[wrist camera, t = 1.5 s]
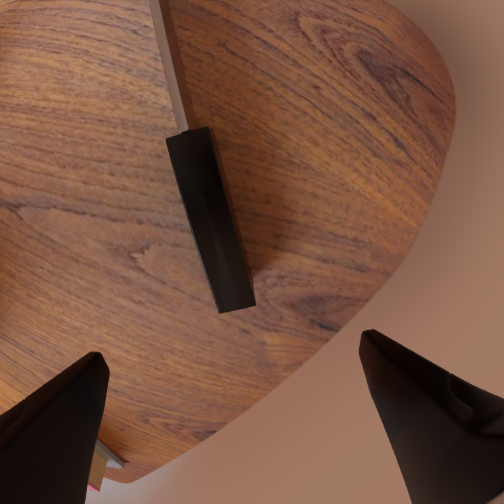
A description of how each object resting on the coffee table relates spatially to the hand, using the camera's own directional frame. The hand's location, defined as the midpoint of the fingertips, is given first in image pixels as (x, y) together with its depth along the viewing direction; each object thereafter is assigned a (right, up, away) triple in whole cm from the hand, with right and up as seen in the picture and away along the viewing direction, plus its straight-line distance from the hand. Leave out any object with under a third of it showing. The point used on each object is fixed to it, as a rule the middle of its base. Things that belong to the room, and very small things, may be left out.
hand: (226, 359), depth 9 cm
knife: (-3, +11, +7) cm, 13 cm away
